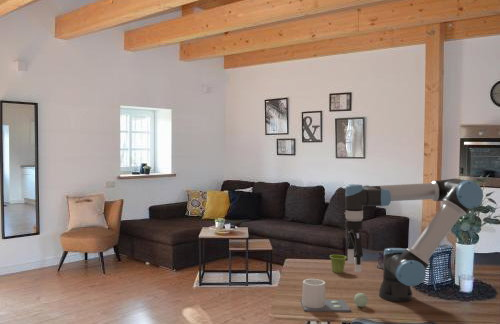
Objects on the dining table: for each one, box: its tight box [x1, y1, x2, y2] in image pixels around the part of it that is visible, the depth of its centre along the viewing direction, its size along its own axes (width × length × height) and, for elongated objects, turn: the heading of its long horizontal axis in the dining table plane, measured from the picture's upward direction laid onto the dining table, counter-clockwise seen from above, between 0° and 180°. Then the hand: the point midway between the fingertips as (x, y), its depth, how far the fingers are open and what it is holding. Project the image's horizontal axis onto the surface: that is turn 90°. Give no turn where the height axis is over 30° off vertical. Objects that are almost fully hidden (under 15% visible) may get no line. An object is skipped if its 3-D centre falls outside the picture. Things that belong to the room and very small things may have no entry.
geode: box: [376, 252, 384, 270], centre depth 276 cm, size 20×12×10 cm, turn 129°
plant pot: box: [329, 254, 348, 274], centre depth 262 cm, size 9×9×9 cm
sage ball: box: [353, 292, 369, 308], centre depth 207 cm, size 6×6×6 cm
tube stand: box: [300, 278, 351, 313], centre depth 206 cm, size 20×13×11 cm, turn 91°
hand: (354, 267), depth 206 cm, fingers open, 13 cm apart
